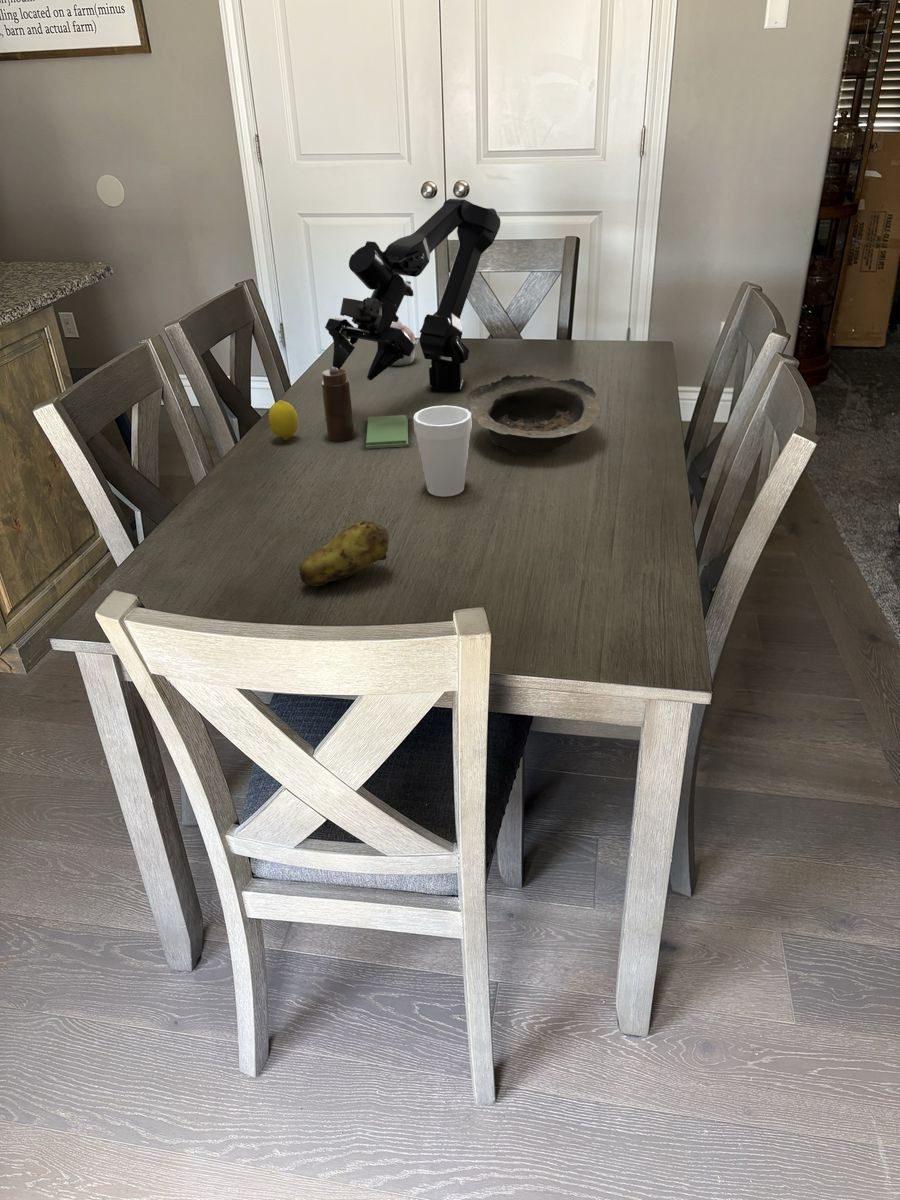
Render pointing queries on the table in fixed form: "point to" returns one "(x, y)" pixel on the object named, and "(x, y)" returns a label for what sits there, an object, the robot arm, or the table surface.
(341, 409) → the pepper mill
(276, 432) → the lemon
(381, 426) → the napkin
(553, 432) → the stone bowl
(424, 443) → the foam cup
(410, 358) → the cupcake
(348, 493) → the table surface
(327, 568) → the potato
